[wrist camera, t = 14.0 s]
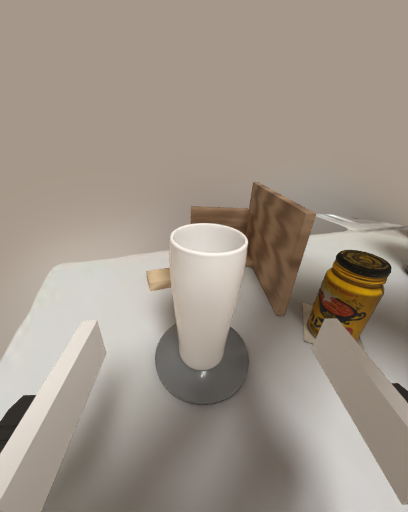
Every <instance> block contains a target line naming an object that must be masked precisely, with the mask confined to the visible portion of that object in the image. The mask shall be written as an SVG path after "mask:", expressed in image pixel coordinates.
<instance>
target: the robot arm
mask: <svg viewBox="0 0 408 512" xmlns="http://www.w3.org/2000/svg"><path fill="white" fill-rule="evenodd" d="M406 271H407V273H408V266H407V268H406ZM311 350H312V351H313V353H314V355H315V357H316V358H317V360H318V362H319V363H320V365H321V367H322V369H323V370H324V372H325V374H326V375H327V377H328V379H329V381H330V382H331V384H332V386H333V387H334V389H335V391H336V392H337V394H338V396H339V398H340V399H341V401H342V403H343V404H344V406H345V408H346V410H347V411H348V413H349V415H350V416H351V418H352V420H353V422H354V423H355V425H356V427H357V428H358V430H359V432H360V434H361V435H362V437H363V439H364V440H365V442H366V444H367V446H368V447H369V449H370V451H371V452H372V454H373V456H374V458H375V459H376V461H377V463H378V464H379V466H380V468H381V470H382V471H383V473H384V475H385V476H386V478H387V480H388V482H389V483H390V485H391V487H392V488H393V490H394V492H395V494H396V495H397V497H398V499H399V500H400V502H401V504H402V505H405V504H408V391H407V390H406V389H405V388H403V387H402V386H401V385H400V384H398V383H391V382H390V381H389V380H388V379H387V378H386V376H385V375H384V374H383V373H382V372H381V371H380V369H379V368H378V367H377V366H376V365H375V363H374V362H373V361H372V360H371V359H370V357H369V356H368V355H367V354H366V353H365V351H364V350H363V349H362V348H361V347H360V345H359V344H358V343H357V342H356V341H355V339H354V338H353V337H352V336H351V335H350V333H349V332H348V331H347V330H346V329H345V327H344V326H343V325H342V324H341V323H340V321H339V320H338V319H337V318H332V319H324V321H323V324H322V326H321V328H320V330H319V333H318V335H317V337H316V340H315V342H314V344H313V346H312V349H311ZM105 355H106V350H105V346H104V343H103V339H102V336H101V332H100V329H99V325H98V322H97V321H82V323H81V324H80V326H79V328H78V329H77V331H76V332H75V334H74V336H73V337H72V339H71V340H70V342H69V344H68V345H67V347H66V349H65V350H64V352H63V353H62V355H61V357H60V358H59V360H58V361H57V363H56V365H55V366H54V368H53V369H52V371H51V373H50V374H49V376H48V378H47V379H46V381H45V382H44V384H43V386H42V387H41V389H40V390H39V392H38V394H37V395H24V396H22V397H21V398H20V399H19V400H18V401H17V402H16V403H15V404H14V405H13V406H12V407H11V408H10V409H9V410H8V411H7V413H6V414H5V416H4V417H3V419H2V420H1V421H0V512H41V511H42V509H43V506H44V504H45V501H46V499H47V497H48V494H49V492H50V489H51V487H52V484H53V482H54V480H55V477H56V475H57V472H58V470H59V467H60V465H61V462H62V460H63V458H64V455H65V453H66V450H67V448H68V445H69V443H70V441H71V438H72V436H73V433H74V431H75V428H76V426H77V423H78V421H79V419H80V416H81V414H82V411H83V409H84V406H85V404H86V402H87V399H88V397H89V394H90V392H91V389H92V387H93V384H94V382H95V380H96V377H97V375H98V372H99V370H100V367H101V365H102V363H103V360H104V358H105Z"/></svg>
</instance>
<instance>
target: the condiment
mask: <svg viewBox="0 0 408 512" xmlns="http://www.w3.org/2000/svg"><path fill="white" fill-rule="evenodd" d="M390 273H391V265H390V264H389V263H388V262H387V261H386V260H384V259H382V258H380V257H378V256H375V255H373V254H370V253H366V252H362V251H357V250H344V251H341V252H339V253H338V255H336V260H335V261H334V263H333V267H332V268H331V269H329V270H328V271H327V273H326V275H325V277H324V280H323V281H322V285H321V288H320V289H319V293H318V295H317V297H316V301H315V302H314V304H313V305H309V304H306V303H302V308H303V328H304V341H306V342H309V343H312V344H314V342H315V340H316V337H317V335H318V333H319V330H320V328H321V326H322V324H323V321H324V319H332V318H337V319H338V320H339V321H340V323H341V324H342V325H343V326H344V327H345V329H346V330H347V331H348V332H349V333H350V335H351V336H352V337H353V338H354V339H355V341H356V342H357V343H358V344H359V345H360V347H361V348H362V349H363V350H364V347H363V345H362V342H361V339H360V334H361V333H362V331H363V329H364V327H365V326H366V324H367V322H368V320H369V319H370V317H371V315H372V313H373V311H374V310H375V308H376V306H377V304H378V303H379V301H380V299H381V297H382V296H383V294H384V286H383V284H385V283H386V281H387V277H388V276H389V274H390Z"/></svg>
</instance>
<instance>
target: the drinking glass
mask: <svg viewBox="0 0 408 512" xmlns="http://www.w3.org/2000/svg"><path fill="white" fill-rule="evenodd" d="M247 248H248V239H247V237H246V236H245V235H244V234H243V233H242V232H240V231H238V230H236V229H234V228H231V227H228V226H224V225H219V224H210V223H198V224H190V225H185V226H182V227H179V228H177V229H176V230H174V231H173V232H172V233H171V235H170V249H169V264H170V280H171V289H172V296H173V303H174V310H175V317H176V325H177V332H178V340H179V354H180V357H181V359H182V361H183V362H184V363H185V364H186V365H187V366H188V367H190V368H192V369H195V370H199V371H204V370H209V369H212V368H214V367H215V366H216V365H218V364H219V362H220V361H221V359H222V357H223V354H224V349H225V343H226V340H227V336H228V332H229V329H230V325H231V321H232V318H233V314H234V311H235V307H236V304H237V300H238V297H239V293H240V289H241V285H242V281H243V276H244V271H245V265H246V257H247Z"/></svg>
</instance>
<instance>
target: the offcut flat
mask: <svg viewBox="0 0 408 512" xmlns="http://www.w3.org/2000/svg"><path fill="white" fill-rule="evenodd" d="M147 280H148V283H149V287H150V291H154V290H159V289H164V288H170V287H171V280H170V268H164V269H158V270H151V271H147Z"/></svg>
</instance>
